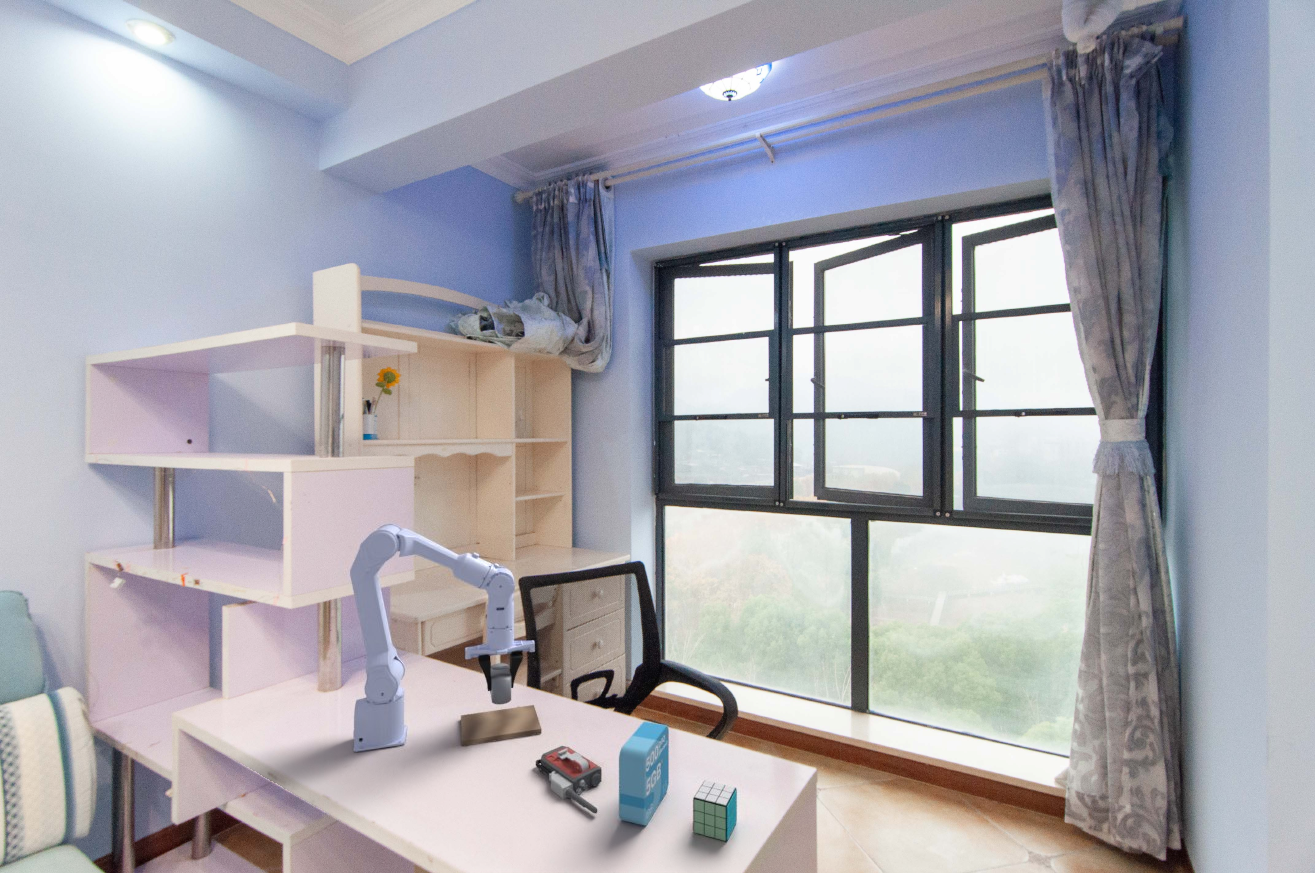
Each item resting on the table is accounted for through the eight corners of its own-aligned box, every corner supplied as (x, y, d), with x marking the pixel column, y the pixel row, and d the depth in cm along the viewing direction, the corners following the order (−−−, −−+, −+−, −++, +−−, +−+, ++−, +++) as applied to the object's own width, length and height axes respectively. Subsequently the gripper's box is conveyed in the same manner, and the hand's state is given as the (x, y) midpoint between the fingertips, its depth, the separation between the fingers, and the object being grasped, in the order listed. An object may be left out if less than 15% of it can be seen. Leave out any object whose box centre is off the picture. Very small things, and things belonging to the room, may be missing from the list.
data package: (644, 830, 96) (644, 755, 96) (618, 823, 98) (618, 749, 98) (669, 789, 107) (669, 721, 107) (645, 784, 109) (645, 717, 109)
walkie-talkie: (525, 773, 113) (591, 822, 99) (525, 750, 113) (591, 795, 99) (563, 756, 119) (631, 800, 105) (564, 734, 119) (631, 775, 105)
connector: (492, 705, 125) (492, 681, 125) (488, 681, 137) (488, 659, 137) (512, 702, 126) (512, 678, 126) (506, 679, 139) (506, 657, 139)
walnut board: (462, 745, 122) (462, 740, 122) (460, 719, 134) (460, 715, 134) (541, 733, 128) (541, 728, 128) (533, 709, 139) (533, 704, 139)
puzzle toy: (727, 842, 93) (727, 806, 93) (692, 833, 96) (692, 797, 96) (737, 821, 98) (737, 786, 98) (704, 812, 101) (704, 778, 101)
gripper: (465, 634, 125) (465, 699, 124) (536, 627, 129) (536, 690, 129) (465, 624, 131) (464, 686, 131) (532, 617, 136) (532, 677, 136)
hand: (500, 687), depth 131 cm, fingers closed on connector, 4 cm apart
